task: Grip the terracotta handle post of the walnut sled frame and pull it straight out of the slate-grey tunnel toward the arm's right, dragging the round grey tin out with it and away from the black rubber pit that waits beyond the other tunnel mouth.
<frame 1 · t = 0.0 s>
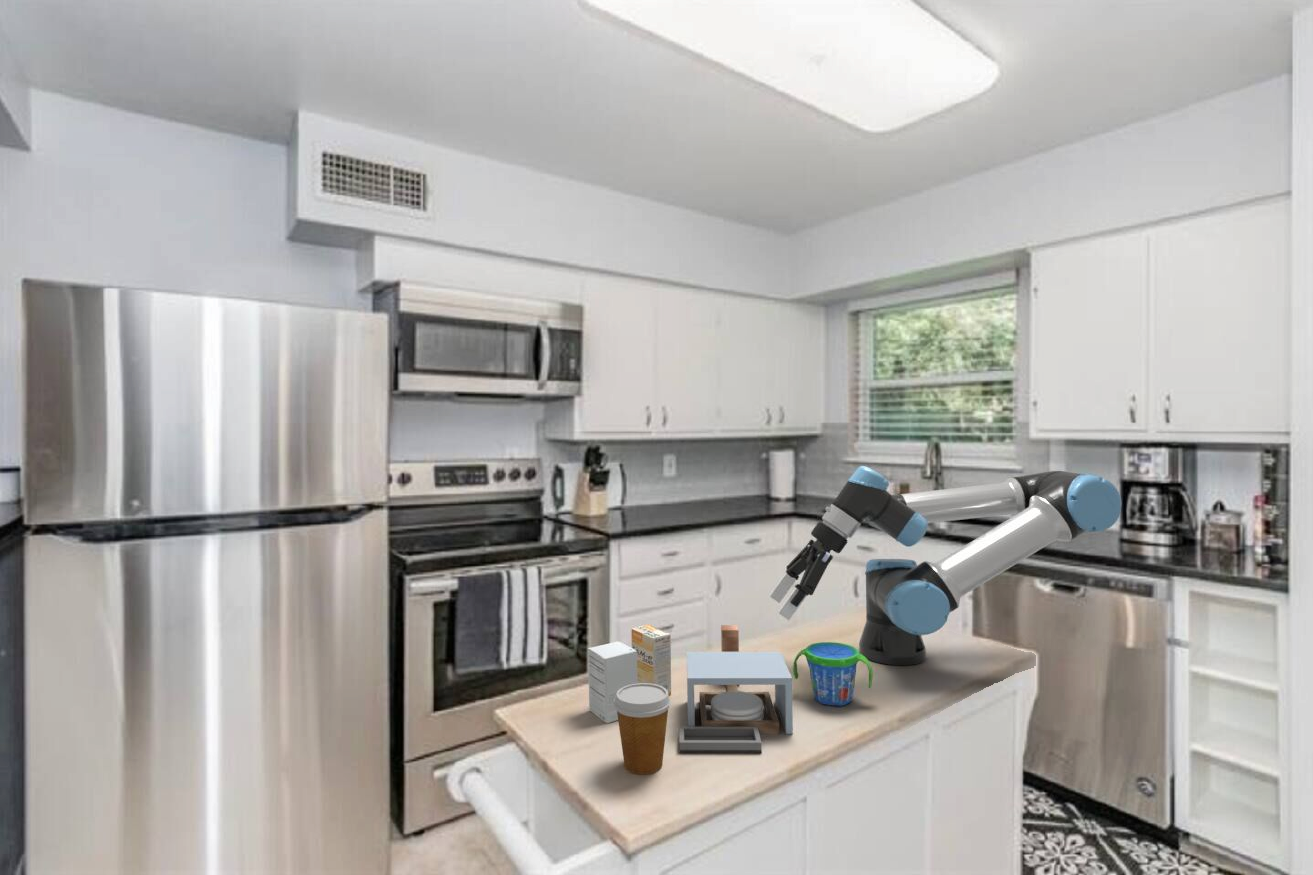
hand: (778, 607, 148), 15 cm above the counter, tool tilted 35°, fingers open, 13 cm apart
round grey tin: (737, 719, 128), resting in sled
pit: (719, 744, 117), on the counter
supplement box: (651, 692, 141), on the counter
snack cup: (832, 700, 135), on the counter
supplement box 2: (613, 713, 131), on the counter
disposable coffee cup: (643, 765, 111), on the counter
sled: (734, 674, 134), point 6 cm above the counter, slide at 0.0 cm
tunnel: (737, 716, 128), on the counter
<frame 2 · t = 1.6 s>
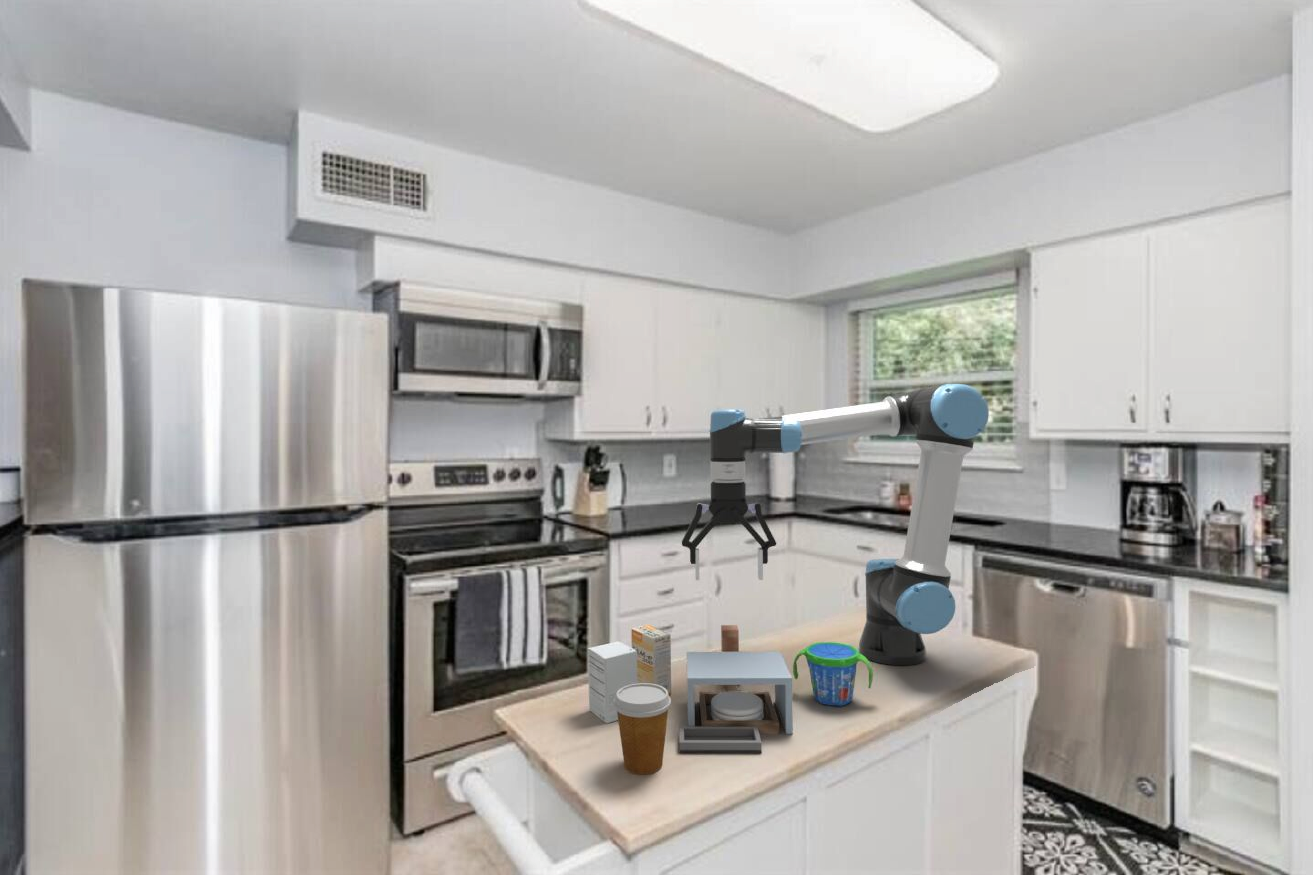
hand: (728, 578, 145), 23 cm above the counter, tool pointing down, fingers open, 13 cm apart
nothing on the counter moved.
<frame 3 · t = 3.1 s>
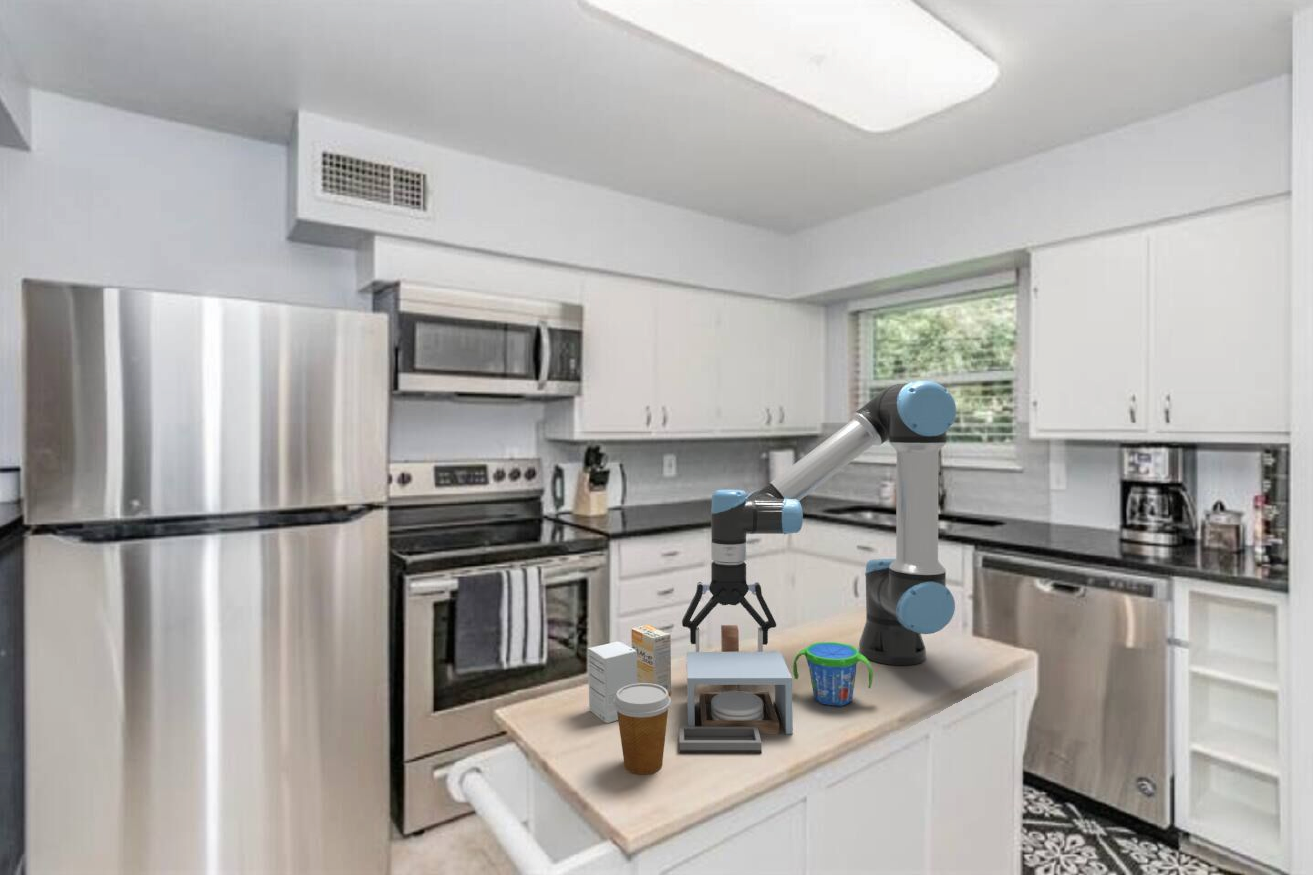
hand: (728, 658, 145), 5 cm above the counter, tool pointing down, fingers open, 13 cm apart
nothing on the counter moved.
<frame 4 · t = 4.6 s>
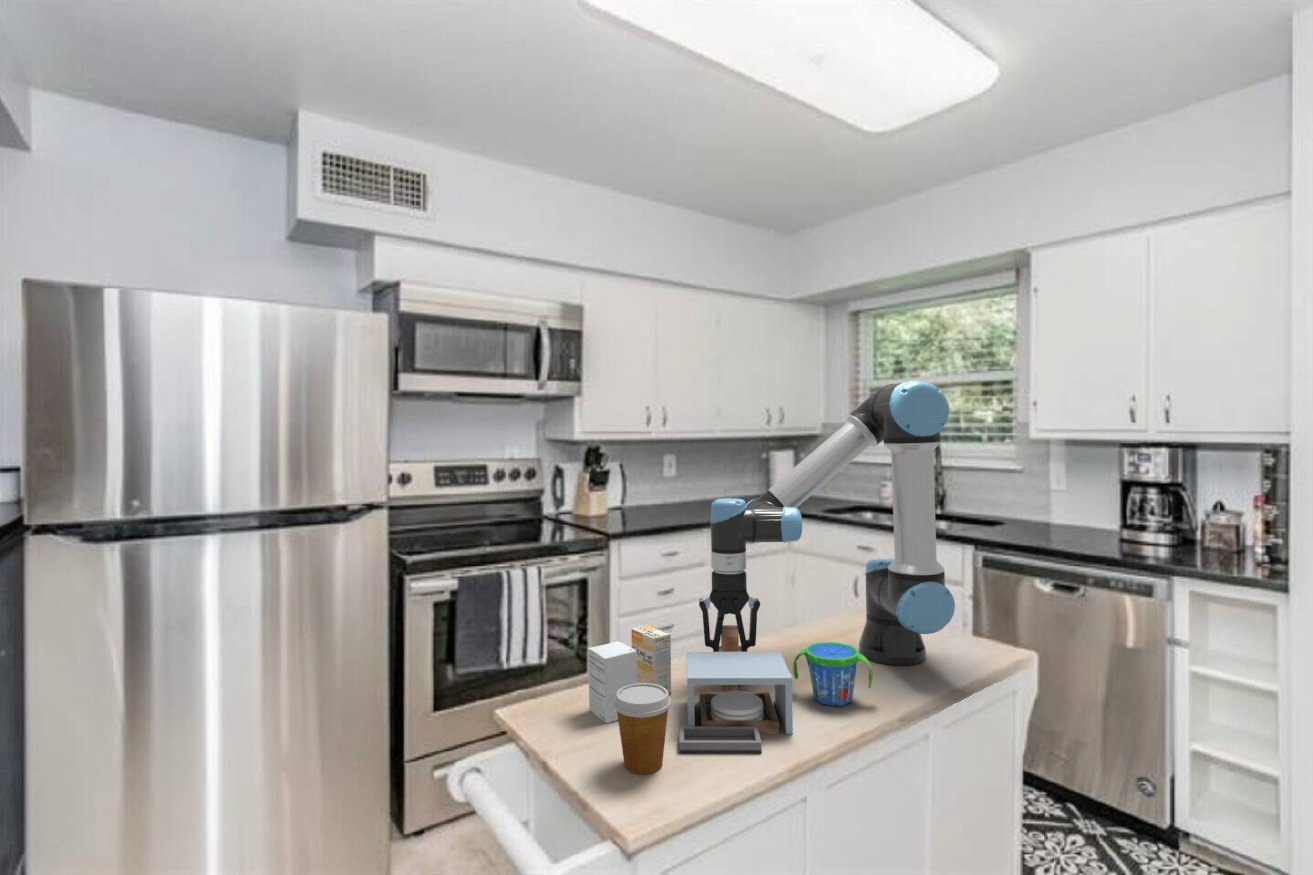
hand: (730, 677, 145), 1 cm above the counter, tool pointing down, fingers closed on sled, 3 cm apart
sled: (734, 674, 134), point 6 cm above the counter, slide at 0.0 cm, touching gripper
everything else where it was.
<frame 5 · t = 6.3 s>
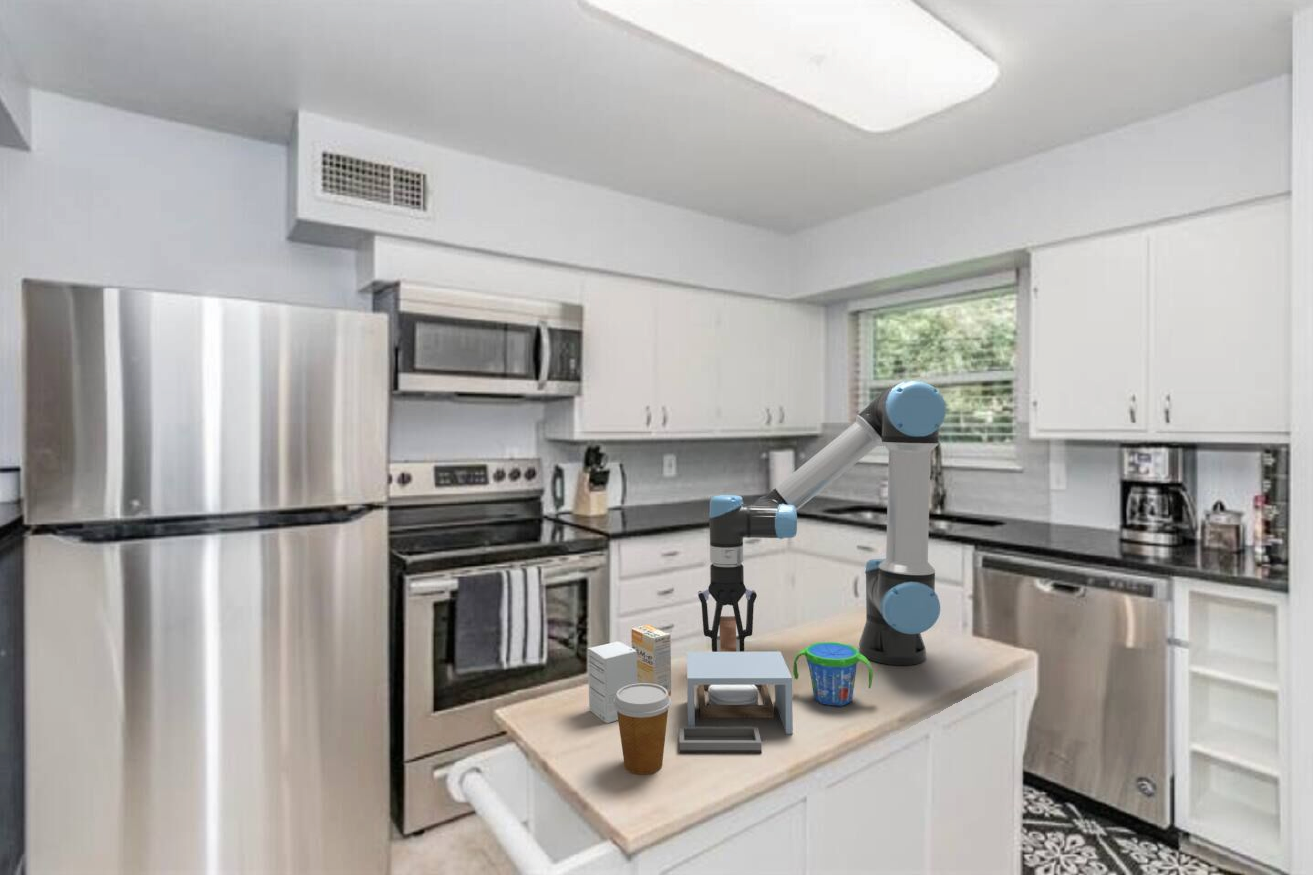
hand: (728, 665, 152), 1 cm above the counter, tool pointing down, fingers closed on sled, 4 cm apart
round grey tin: (733, 705, 134), resting in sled
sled: (731, 662, 140), point 6 cm above the counter, slide at 6.8 cm, touching gripper
everything else where it was.
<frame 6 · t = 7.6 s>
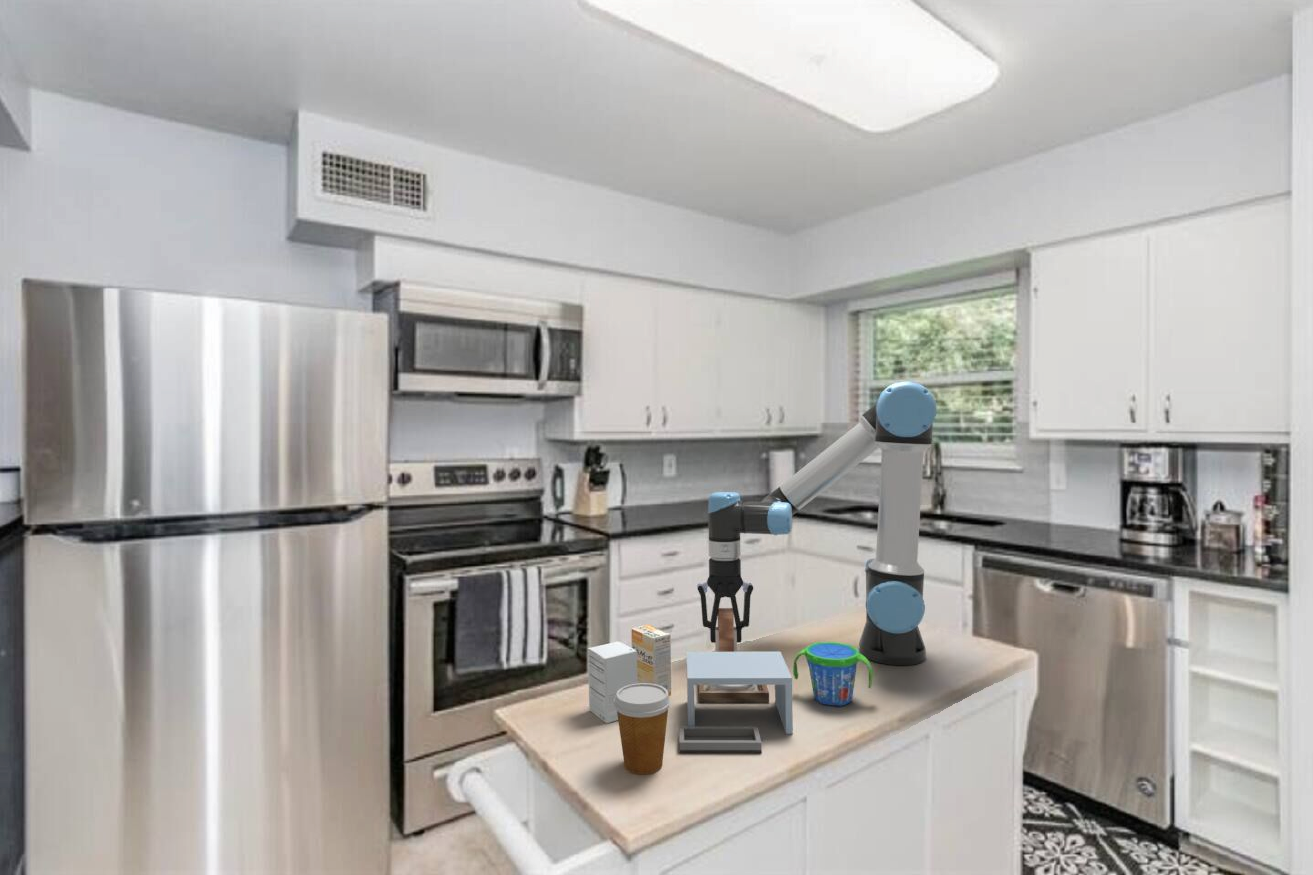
hand: (726, 655, 159), 1 cm above the counter, tool pointing down, fingers closed on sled, 3 cm apart
round grey tin: (731, 692, 141), resting in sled
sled: (729, 651, 147), point 6 cm above the counter, slide at 13.6 cm, touching round grey tin, gripper
everything else where it was.
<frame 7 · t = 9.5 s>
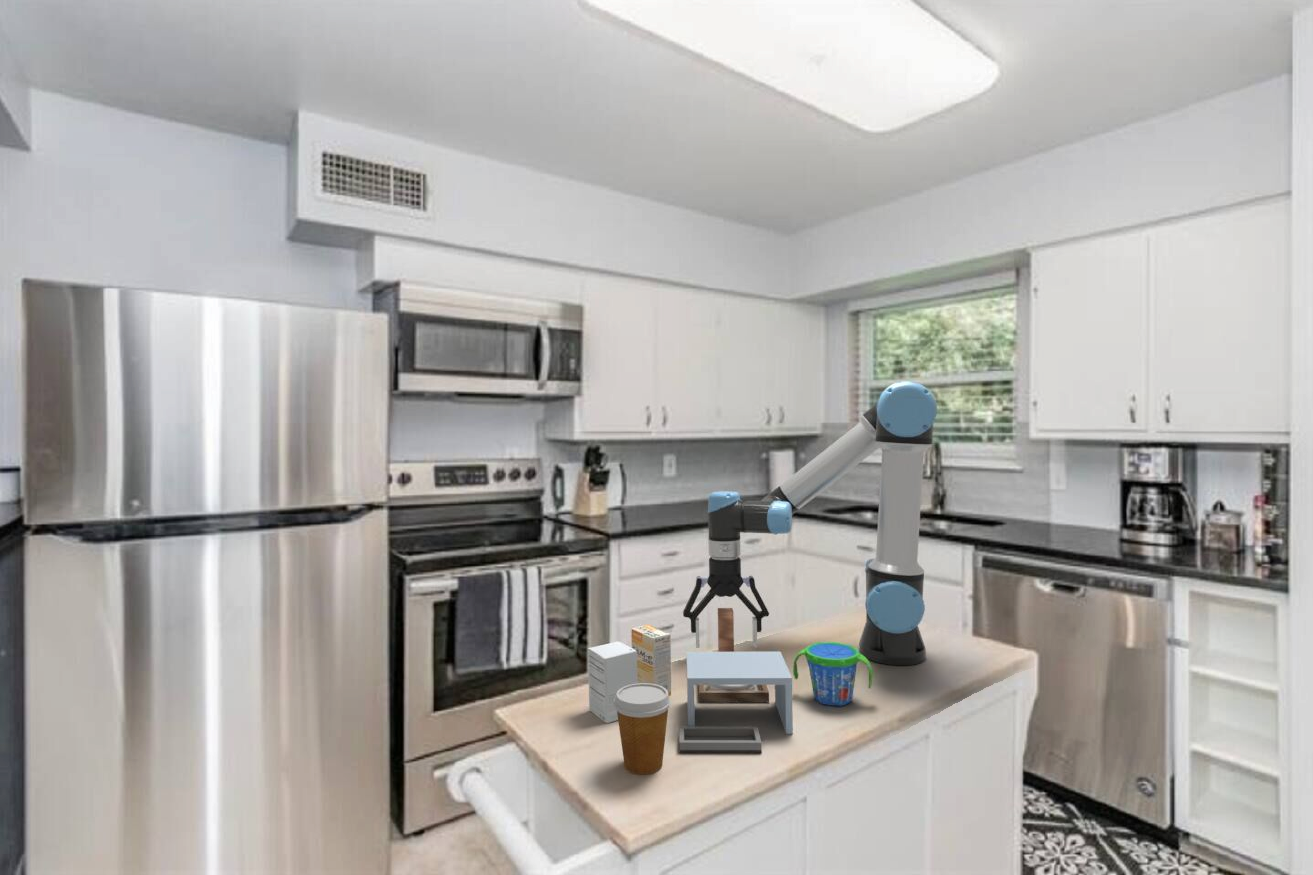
hand: (726, 645, 159), 3 cm above the counter, tool pointing down, fingers open, 13 cm apart
round grey tin: (731, 692, 141), resting in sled
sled: (729, 651, 147), point 6 cm above the counter, slide at 13.7 cm
everything else where it was.
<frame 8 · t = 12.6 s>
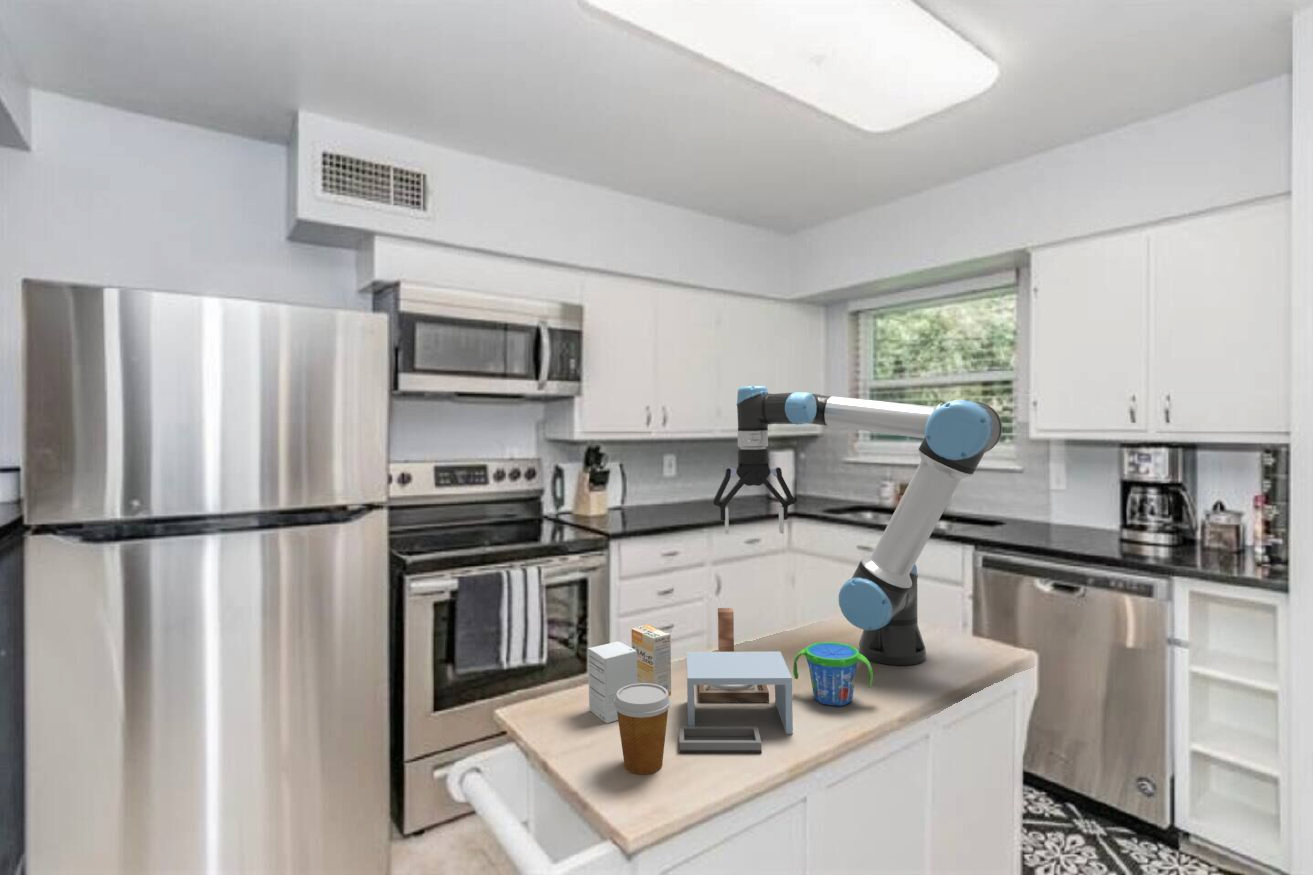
hand: (754, 533, 167), 29 cm above the counter, tool pointing down, fingers open, 13 cm apart
nothing on the counter moved.
at the end: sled slide at 13.7 cm; round grey tin inside the target area (1.1 cm from its centre), resting in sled; round grey tin tilted 0° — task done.
